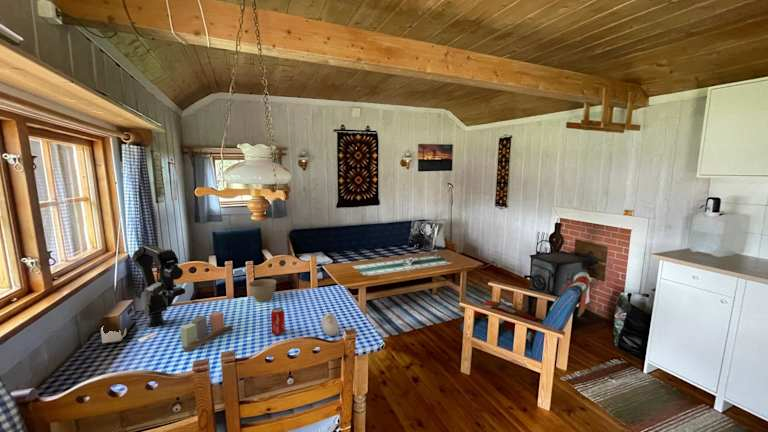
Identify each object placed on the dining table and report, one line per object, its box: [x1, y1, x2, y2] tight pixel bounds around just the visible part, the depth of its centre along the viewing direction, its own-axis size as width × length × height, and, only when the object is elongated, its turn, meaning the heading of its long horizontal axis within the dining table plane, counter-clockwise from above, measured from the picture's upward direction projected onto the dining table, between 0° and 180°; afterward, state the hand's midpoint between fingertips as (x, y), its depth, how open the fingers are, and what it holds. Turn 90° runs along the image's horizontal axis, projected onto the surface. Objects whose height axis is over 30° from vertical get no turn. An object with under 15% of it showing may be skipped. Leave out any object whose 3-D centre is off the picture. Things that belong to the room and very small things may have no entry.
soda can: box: [270, 307, 286, 336], centre depth 156 cm, size 6×6×12 cm
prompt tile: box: [137, 332, 158, 343], centre depth 149 cm, size 12×7×1 cm, turn 65°
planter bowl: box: [248, 278, 277, 303], centre depth 199 cm, size 16×16×11 cm
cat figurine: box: [320, 312, 340, 337], centre depth 158 cm, size 10×8×15 cm
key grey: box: [191, 315, 208, 341], centre depth 150 cm, size 4×4×9 cm
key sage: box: [180, 322, 198, 348], centre depth 143 cm, size 4×4×9 cm
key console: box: [183, 324, 233, 353], centre depth 150 cm, size 12×23×3 cm, turn 155°
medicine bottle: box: [100, 327, 127, 344], centre depth 149 cm, size 7×7×12 cm
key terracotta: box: [209, 311, 225, 334], centre depth 155 cm, size 4×4×9 cm
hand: (168, 306), depth 156 cm, fingers closed
